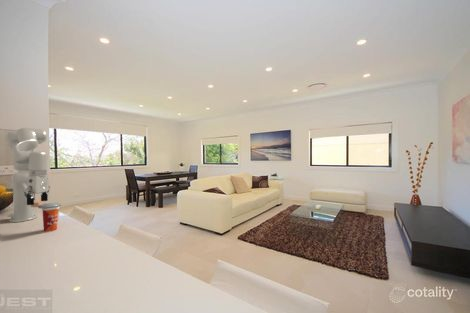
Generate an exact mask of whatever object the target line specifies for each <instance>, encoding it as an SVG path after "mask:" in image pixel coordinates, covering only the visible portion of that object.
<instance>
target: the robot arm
mask: <svg viewBox="0 0 470 313" xmlns="http://www.w3.org/2000/svg"><path fill="white" fill-rule="evenodd" d="M47 139H48V134H47V132H46V131H45V130H44V129H42V128H41V129H40V128H29V127H21V128H19V129H17V130H13V131H11V130H10V131H8V132H7V133H6V135H5V142H6V143H7V147H8V148H9V150H10V152H11V158H12V165H13V169H14V170H16V171H18V172H15V173H13V174H12V175H11V183H12V190H13V191H12V193H13V194H12V197H13V198H12V199H13V201H12V204H13V205H12V207H13V208H12V209H13V210H12V212H9V213H8V214H7V215H6V216H7V217H8V218H9V217H10V218H9V222H10V223H19V222H21V223H22V222H26V221H32V220H34V219H37V216H38V215H36V214H34V208H35V207H31V205H34V202H35V194H37V195H38V194H40V201H44V202H47V201H48V200H49V198H48V195H49V192H50V190H51V186H50V182H49V181H50V180H49V173H48V161H47V160H48V154H47V152H44V151H37V150H35V149H37V148H38V146H39V145H42V144H43V143H45V142H46V141H47ZM34 150H35V151H34Z"/></svg>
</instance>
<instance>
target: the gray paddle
mask: <svg viewBox="0 0 470 313" xmlns="http://www.w3.org/2000/svg"><path fill="white" fill-rule="evenodd" d="M58 206H59V207H60V206H62V203H61V202H47V203H45V201H41V200H37V201H36V200H34V205H31V207H34V208H38V209H43V208H53V207H58Z"/></svg>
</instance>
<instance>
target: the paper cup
mask: <svg viewBox="0 0 470 313" xmlns="http://www.w3.org/2000/svg"><path fill="white" fill-rule="evenodd" d="M59 209H60V206H58V207H53V208H41V211H42V222H43V223H42V224H43V225H42V226H43V232H44V231H45V232H46V233H49V231H50V232H55V231H56V230H57V229H58V220H59V219H58V218H59V211H60V210H59Z"/></svg>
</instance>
